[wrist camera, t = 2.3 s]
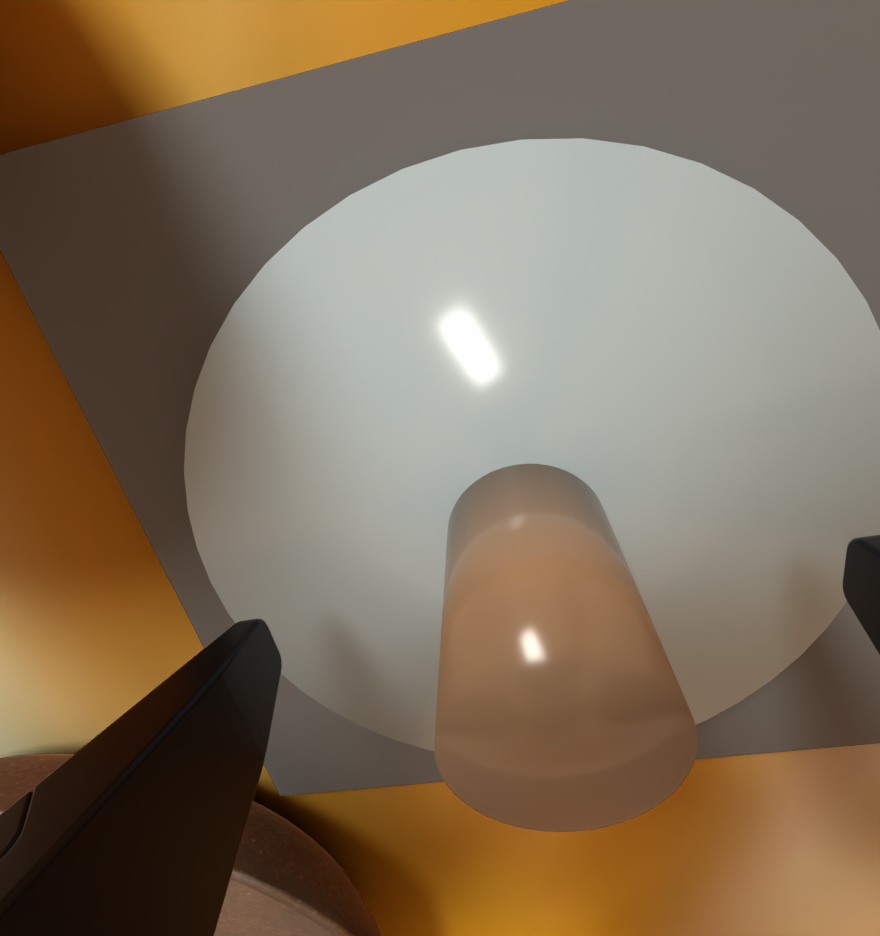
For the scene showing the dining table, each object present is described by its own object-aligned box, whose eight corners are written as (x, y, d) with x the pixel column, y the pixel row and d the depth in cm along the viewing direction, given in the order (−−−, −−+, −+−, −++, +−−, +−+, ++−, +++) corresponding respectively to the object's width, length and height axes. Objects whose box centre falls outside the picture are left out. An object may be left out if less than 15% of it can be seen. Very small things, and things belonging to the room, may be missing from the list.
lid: (925, 39, 8) (1705, -224, 3) (836, 702, 13) (1049, 997, 8) (82, 246, 9) (-326, 304, 5) (316, 755, 15) (243, 1027, 10)
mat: (1050, -122, 7) (1081, -139, 7) (884, 727, 14) (895, 741, 14) (-24, 167, 9) (-43, 166, 9) (284, 782, 16) (280, 795, 16)
